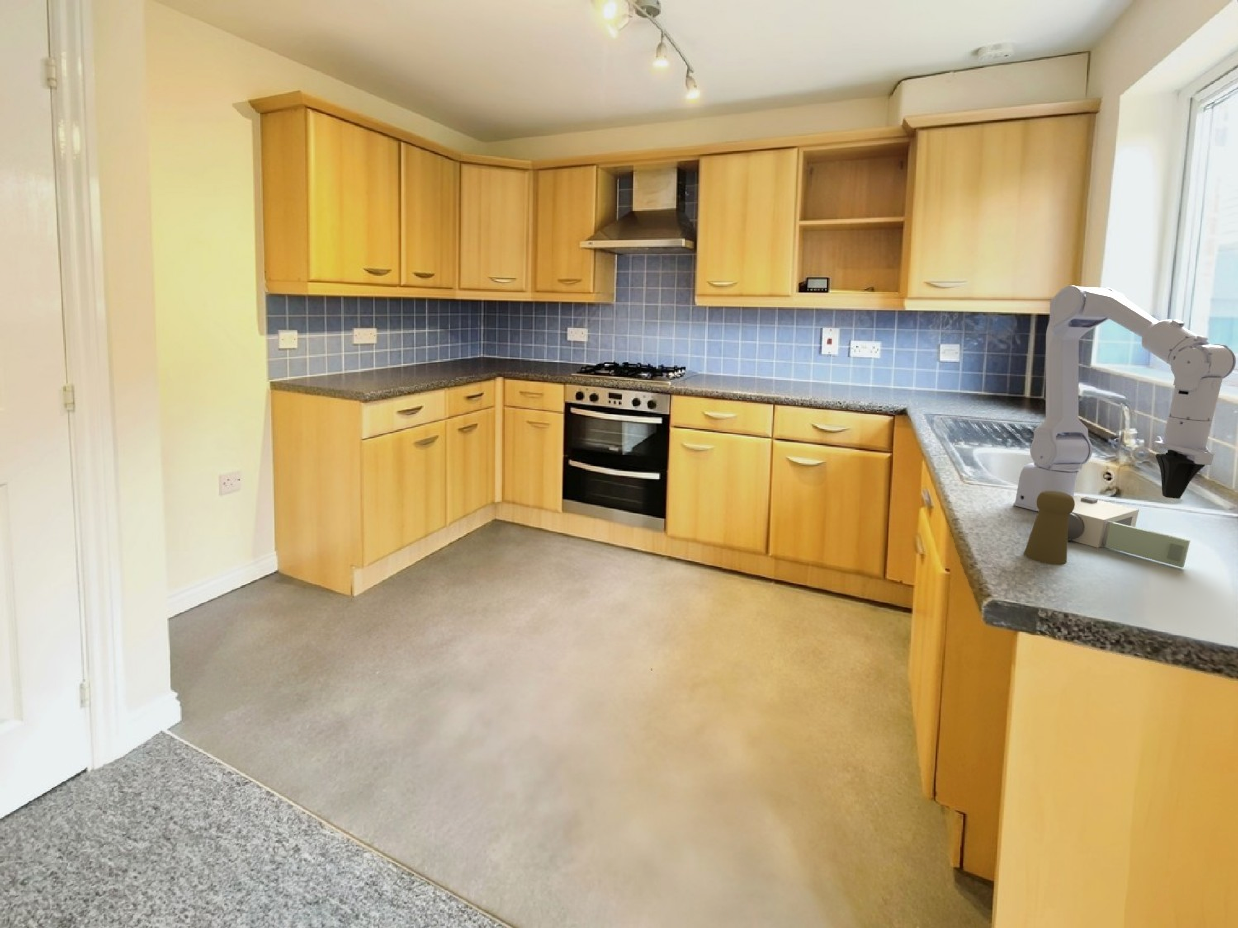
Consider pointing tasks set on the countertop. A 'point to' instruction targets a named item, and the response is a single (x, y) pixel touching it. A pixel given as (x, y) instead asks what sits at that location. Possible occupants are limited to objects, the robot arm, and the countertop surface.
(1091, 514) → the camera box
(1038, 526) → the cork
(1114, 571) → the countertop surface
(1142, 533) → the side door
